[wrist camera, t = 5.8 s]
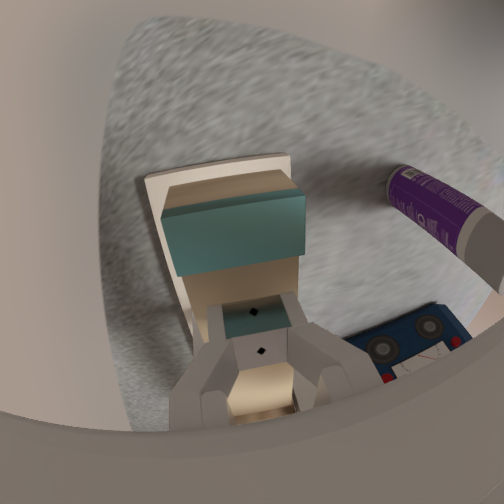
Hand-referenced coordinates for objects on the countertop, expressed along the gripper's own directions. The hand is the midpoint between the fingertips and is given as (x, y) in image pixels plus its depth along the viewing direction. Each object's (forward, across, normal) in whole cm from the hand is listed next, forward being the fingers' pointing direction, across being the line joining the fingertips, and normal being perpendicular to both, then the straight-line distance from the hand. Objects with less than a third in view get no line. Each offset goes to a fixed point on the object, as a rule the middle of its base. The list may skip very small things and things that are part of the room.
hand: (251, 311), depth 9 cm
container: (+14, -18, +2) cm, 23 cm away
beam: (+3, 0, +12) cm, 12 cm away
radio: (+14, -22, +26) cm, 37 cm away
